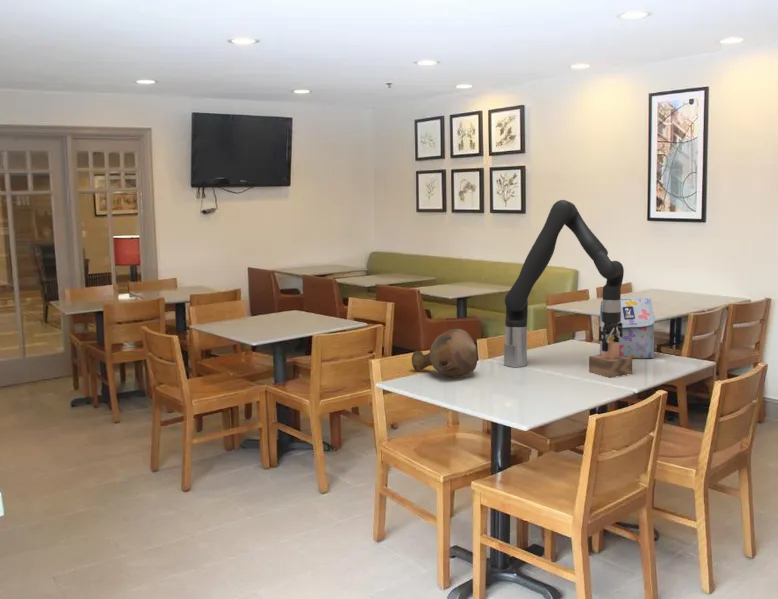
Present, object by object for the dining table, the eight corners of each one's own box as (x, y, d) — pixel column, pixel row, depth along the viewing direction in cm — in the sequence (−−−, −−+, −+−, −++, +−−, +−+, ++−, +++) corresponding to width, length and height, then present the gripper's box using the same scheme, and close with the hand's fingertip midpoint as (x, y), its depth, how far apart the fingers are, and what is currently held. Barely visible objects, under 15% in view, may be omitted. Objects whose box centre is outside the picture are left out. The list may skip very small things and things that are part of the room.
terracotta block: (612, 358, 312) (612, 344, 311) (601, 357, 316) (601, 342, 315) (618, 356, 316) (619, 342, 315) (607, 355, 319) (608, 341, 318)
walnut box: (609, 378, 308) (609, 361, 307) (588, 372, 319) (589, 356, 318) (631, 374, 314) (632, 358, 313) (611, 369, 324) (611, 353, 323)
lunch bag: (603, 360, 340) (604, 301, 337) (596, 352, 357) (597, 296, 353) (656, 360, 338) (657, 300, 335) (646, 352, 355) (647, 295, 351)
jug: (489, 376, 315) (432, 378, 335) (488, 328, 318) (431, 333, 338) (459, 375, 301) (401, 378, 320) (458, 325, 303) (400, 331, 323)
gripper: (610, 313, 305) (609, 353, 308) (628, 309, 315) (628, 348, 317) (593, 311, 311) (592, 351, 313) (612, 307, 320) (611, 345, 323)
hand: (610, 349), depth 315 cm, fingers open, 8 cm apart
